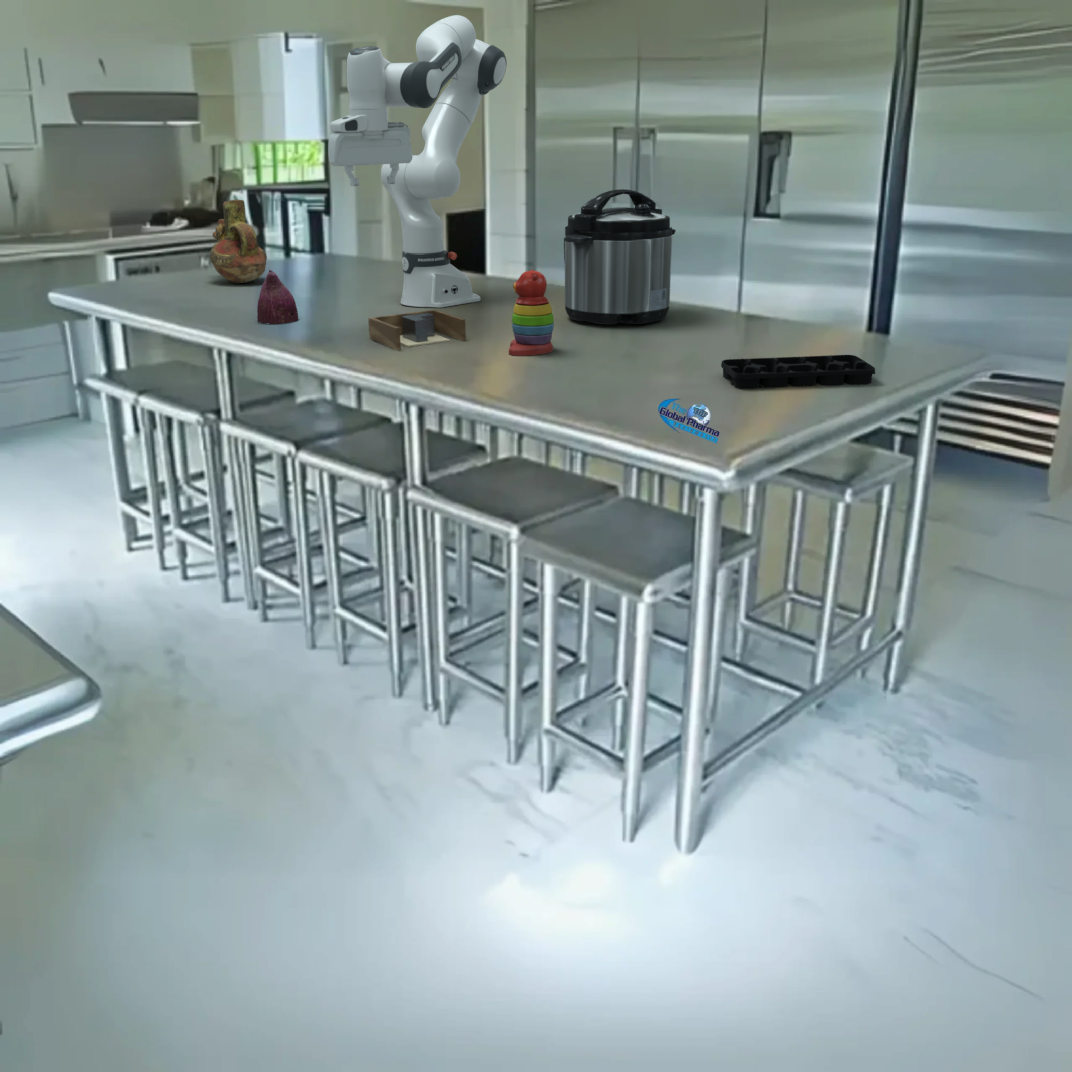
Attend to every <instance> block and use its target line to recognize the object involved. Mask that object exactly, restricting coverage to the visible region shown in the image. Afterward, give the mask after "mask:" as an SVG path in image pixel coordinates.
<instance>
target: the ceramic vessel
mask: <svg viewBox="0 0 1072 1072" xmlns="http://www.w3.org/2000/svg"><path fill="white" fill-rule="evenodd" d="M222 209H223V218H219V219H218V220H217V225H216V226H215V231H214V232H213V233H212V237H213V238H214V239H215V240H216V243H214V244H213V246H212V247H211V249H210V253H209V259H210V261H211V263H212V265H213V268H214V269H215V271H216V272H217V273H218V274H219V275H220V276H221V277H223V278H224V279H226V280H227V281H229V282H231V283H232V284H245V283H250V282H252V281H255V280H256V279H259V278H260V277H261V276H262V275H263V274H264V273H265V271H266V268H267V267H266V265H267V258H268V257H267V253H266V252H265V250H264V249H263V248H261V247H260V246H259V242H258V237H257V235H256V232H255V230H254V228H253V226H251V225H250V224H249V223H246V205H245V200H243V199H231V200H229V201H227V200H226V201H224V202H223V204H222Z"/></svg>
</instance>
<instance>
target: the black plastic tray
mask: <svg viewBox="0 0 1072 1072" xmlns="http://www.w3.org/2000/svg"><path fill="white" fill-rule="evenodd" d="M720 367H721V368H722V377H723V378H724V379H725V380H727V381H730V385H732V386H734V388H736V389H742V390H743V389H745V390H750V389H751V390H752V389H754V390H755V389H758V388H759V387H760V386H762V387H763V388H767V389H778V388H786V387H788V386H789V385H790V386H791V387H796V388H798V387H799V388H800V387H801V388H802V387H803V388H807V387H814V386H816V384H818V385H820V386H824V387H825V386H826V387H829V386H830V387H832V386H834V387H835V386H843V385H844V383H845V384H848V385H851V386H852V385H853V386H857V385H858V386H861V385H862V386H863V385H870V384H871V383H872V379H873V375H875V374H876V368H875V367H874V366H873V365H872V364H870V363H868V362H866V361H865V360H864V359H862V358H861V357H859V356H857V355H854V354H833V355H832V354H831V355H830V354H829V355H809V356H783V357H782V356H781V357H757V358H755V357H754V358H751V357H750V358H730V359H728V358H727V359H723V360H721V364H720Z"/></svg>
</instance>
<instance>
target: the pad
mask: <svg viewBox="0 0 1072 1072" xmlns="http://www.w3.org/2000/svg"><path fill="white" fill-rule="evenodd" d="M434 334H435V333H434ZM427 339H428V341H422V342H414V341H411V340H409V339H406V338H403V335H400V343H401V346H403V347H406V346H407V348H411V346H412V347H418V346H425V345H432V344H440V343H446V342H451V339H449V338H446V337H444V336H441V335H438V334H435V336H429V337H427Z"/></svg>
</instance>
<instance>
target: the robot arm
mask: <svg viewBox="0 0 1072 1072" xmlns="http://www.w3.org/2000/svg"><path fill="white" fill-rule="evenodd" d="M415 55H416V58H417V61H415V62H391V61H389V60H388V59H386V58H385V57H384V56H383V53H382V50H381V48H380V47H378V46H374V45H373V46H371V45H370V46H368V45H367V46H362V47H361V46H360V47H355V48H353V49H351V50H350V51H349V52H348V55H347V58H346V59H347V61H346V85H347V88H346V89H347V92H348V94H349V104H348V112H349V113H348V114H347V115H345V116H343V117H341V118H338V119H336V120H333V121H331V122H330V124H329V129H330V131H331V132H332V133H330V135H329V138H328V147H327V148H328V150H327V151H328V152H327V153H328V161H329V164H330V165H332V166H333V167H344V172H345V173H346V176H347V177H348V178H349V184H350V186H351V187H359V186H360V183H359V182H360V180H359V178H358V177H355V175H354V173H353V171H354V169H355V168H354V167H355V166H371V165H372V166H373V165H382V167H381V170H380V180H381V183H382V186H383V187H384V189H385V190H386V191H387V192H388V193H389V195H390V196H391V197H392V199H393V202H394V204H395V206H396V209H397V212H398V215H399V219H400V223H401V234H402V235H401V236H402V245H403V246H402V248H403V251H402V253H401V257H402V259H401V261H402V262H401V263H402V272H403V287H402V293H401V299H400V304H401V305H404V306H408V307H418V308H420V307H421V308H422V307H423V308H426V307H427V308H428V307H429V308H446V307H451V306H457V305H462V304H463V305H464V304H470V303H475V302H476V303H477V302H480V301H481V296H480V295H478V294H477V293H474V292H473V288H472V283H471V280H470V278H469V276H468V275H466V274H465V273H463V272H462V271H461V270H459V269H458V268H457V267H455V266H454V265H453V264H451V260H453V261H455V260H456V259H457V257H458V255H457V253H456V252H454V251H449V252H448V251H447V250H445V247H444V228H443V227H444V226H443V221H442V218H440V216H439V215H438V214H437V213H436V212H435V210H434V208H433V205H432V204H431V200H436V201H437V200H441V199H445V198H450V197H452V196H454V195H455V194H457V192H458V190H459V187H460V185H461V172H460V168H459V166H458V165H457V160H458V154H459V151H460V148H461V147H462V144H463V143H464V140H465V138H466V137H467V134H468V132H469V131H470V129H471V127H472V124H473V123H474V121H475V118H476V116H477V113H478V111H479V108H480V104H481V101H482V96H484V95H487V94H488V93H490V91H492V90H494V89H496V87H498V86H499V85H500V84H501V82H502V81H503V79H504V78H505V74H506V72H507V71H506V70H507V58H506V57H507V56H506V54H505V52H504V51H503V50H502V49H500V48H498V47H497V46H495V44H494V45H493V44H489V43H486V42H484V41H482V40H480V39H477V34H476V29H475V27H474V25H473V24H472V21H470V20H469V19H468V18H467V17H465V16H462V15H459V14H455V15H449V16H447V17H444V18H442V19H441V18H440V20H437V21H436V22H434V23H432V24H431V25H430V26H428V27H426V28H425V29H424V30H423V31H422V32H421V33H420V35H419V36H418V38H417V39H416V42H415ZM450 80H451V81H450ZM448 82H450V83H449V84H448V85H447V83H448ZM445 85H447V86H446V88H444V87H445ZM443 88H444V90H443ZM442 90H443V91H442ZM441 91H442V93H441ZM440 93H441V94H440ZM434 103H435V104H434ZM433 104H434V106H433ZM432 106H433V107H432ZM430 107H432V109H431V111H430V113H429V114H428V117H427V118H426V120H425V122H424V124H423V126H422V128H421V136H422V138H423V140H424V143H425V144H424V147H423V150H422V152H420V154H417V155H416V154H413V151H412V144H411V129H410V126H408V124H406V123H405V122H402V121H399V122H393V121H391V122H389V119H388V117H389V116H388V108H415V109H416V108H417V109H428V108H430Z"/></svg>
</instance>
